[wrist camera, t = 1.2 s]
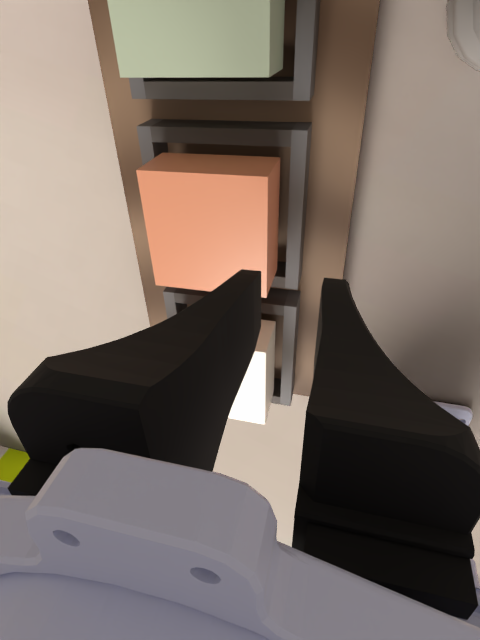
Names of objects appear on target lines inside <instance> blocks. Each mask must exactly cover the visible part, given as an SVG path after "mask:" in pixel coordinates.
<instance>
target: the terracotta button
mask: <svg viewBox="0 0 480 640" xmlns="http://www.w3.org/2000/svg"><path fill="white" fill-rule="evenodd" d="M136 173H137V178H138V184H139V190H140V196H141V202H142V208H143V214H144V219H145V225H146V231H147V237H148V243H149V249H150V255H151V261H152V266H153V272H154V278H155V284H156V285H159V286H167V287H176V288H185V289H193V290H202V291H213V290H214V289H216V288H217V287H218V286H220V285H221V284H222V283H224V282H225V281H226V280H228V279H229V278H230V277H232V276H233V275H234V274H236V273H237V272H238V271H240V270H241V269H244V270H254V271H261V297H263V298H267V295H268V293H269V290H270V287H271V285H272V282H273V279H274V276H275V274H276V271H277V259H278V224H279V188H280V157H261V156H236V155H212V154H187V153H161V154H159V155H158V156H156V157H155V158H153V159H152V160H150V161H149V162H147V163H146V164H145V165H143V166H142V167H140V168H139V169H137V170H136Z"/></svg>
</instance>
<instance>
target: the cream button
mask: <svg viewBox="0 0 480 640" xmlns="http://www.w3.org/2000/svg"><path fill="white" fill-rule="evenodd" d="M182 311H183V310H182ZM275 329H276V321H270V320H262V319H261V329H260V333H259V337H258V341H257V344H256V348H255V352H254V354H253V357H252V359H251V362H250V364H249V367H248V369H247V372H246V374H245V376H244V379H243V381H242V384H241V386H240V388H239V391H238V393H237V396H236V398H235V400H234V403H233V405H232V408H231V410H230V413H229V416H228V418H231V419H237V420H242V421H248V422H253V423H259V424H264V425H265V423H266V419H267V415H268V411H269V407H270V404H271V400H272V396H273V392H274V364H275Z"/></svg>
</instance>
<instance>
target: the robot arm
mask: <svg viewBox="0 0 480 640" xmlns="http://www.w3.org/2000/svg"><path fill="white" fill-rule="evenodd" d="M260 329H261V271H254V270H244V269H241V270H240V271H238V272H237V273H236V274H234V275H233V276H232V277H230V278H229V279H228V280H226V281H225V282H224V283H222V284H221V285H220V286H218V287H217V288H216V289H214V290H213V291H211V292H210V293H209V294H207V295H206V296H204V297H203V298H201V299H200V300H198V301H197V302H195V303H194V304H192V305H190V306H189V307H187V308H186V309H184V310H183V311H181V312H179V313H177V314H176V315H174V316H172V317H170V318H168V319H166V320H164V321H162V322H160V323H158V324H156V325H154V326H152V327H149V328H147V329H144V330H142V331H139V332H137V333H134V334H132V335H129V336H127V337H124V338H121V339H118V340H115V341H112V342H109V343H106V344H102V345H99V346H95V347H92V348H88V349H84V350H80V351H75V352H70V353H66V354H61V355H57V356H52V357H47V358H46V359H45V360H44V361H43V362H42V363H41V364H40V365H39V366H38V367H37V368H36V369H35V370H34V371H33V372H32V373H31V374H30V376H29V377H28V378H27V379H26V380H25V381H24V382H23V383H22V384H21V385H20V386H19V387H18V388H17V389H16V390H15V391H14V392H13V394H12V395H11V397H10V399H9V401H8V415H9V418H10V420H11V423H12V426H13V427H14V429H15V431H16V433H17V435H18V437H19V439H20V441H21V443H22V444H23V446H24V448H25V450H26V452H27V454H28V456H29V458H30V459H29V460H28V462H27V463H26V464H25V466H24V467H23V468H22V470H21V471H20V472H19V474H18V475H17V476H16V477H15V479H14V480H13V481H12V483H11V482H7V481H3V480H0V640H480V586H479V581H478V575H477V570H476V564H475V561H474V560H473V557H474V551H475V550H474V545H473V539H472V534H471V532H472V530H473V528H474V527H475V525H476V523H477V522H478V520H479V518H480V449H479V447H478V444H477V442H476V440H475V437H474V435H473V433H472V431H471V429H470V427H469V424H470V422H471V420H472V417H473V413H472V410H471V409H470V408H469V407H466V406H461V405H454V404H448V403H441V402H435V401H432V400H431V399H430V398H429V397H427V396H426V395H425V394H424V393H423V392H421V391H420V390H419V389H418V388H417V387H416V386H414V385H413V384H412V383H411V382H410V381H409V380H408V379H407V378H406V377H405V376H404V375H403V374H402V373H401V372H400V371H399V370H398V369H397V368H396V367H395V366H394V364H393V363H392V362H391V361H390V360H389V358H388V357H387V356H386V355H385V353H384V352H383V351H382V350H381V348H380V347H379V345H378V344H377V342H376V341H375V340H374V338H373V336H372V335H371V333H370V332H369V330H368V328H367V326H366V325H365V323H364V321H363V319H362V317H361V315H360V313H359V311H358V309H357V307H356V305H355V302H354V300H353V297H352V294H351V291H350V287H349V283H348V282H347V281H346V280H343V279H334V278H324V280H323V283H322V288H321V298H320V307H319V317H318V327H317V337H316V346H315V356H314V373H313V383H312V388H311V392H310V397H309V401H308V406H307V410H306V420H305V430H304V440H303V450H302V461H301V471H300V481H299V489H298V495H297V502H296V508H295V515H294V530H293V541H292V547H290V546H288V545H285V544H283V543H281V542H278V541H277V539H276V531H277V520H276V517H275V515H274V513H273V510H272V508H271V505H270V503H269V502H268V501H267V499H266V498H265V497H263V496H262V495H261V494H260V493H258V492H257V491H256V490H254V489H253V488H252V487H251V486H249V485H248V484H247V483H245V482H242V481H239V480H237V479H234V478H231V477H229V476H226V475H223V474H221V473H216V472H212V471H213V468H214V464H215V460H216V457H217V453H218V449H219V446H220V442H221V439H222V435H223V432H224V428H225V425H226V422H227V419H228V416H229V413H230V410H231V408H232V405H233V403H234V400H235V398H236V396H237V393H238V391H239V388H240V386H241V384H242V381H243V379H244V376H245V374H246V372H247V369H248V367H249V364H250V362H251V359H252V357H253V354H254V352H255V348H256V344H257V341H258V337H259V333H260ZM459 419H462V420H459Z"/></svg>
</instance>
